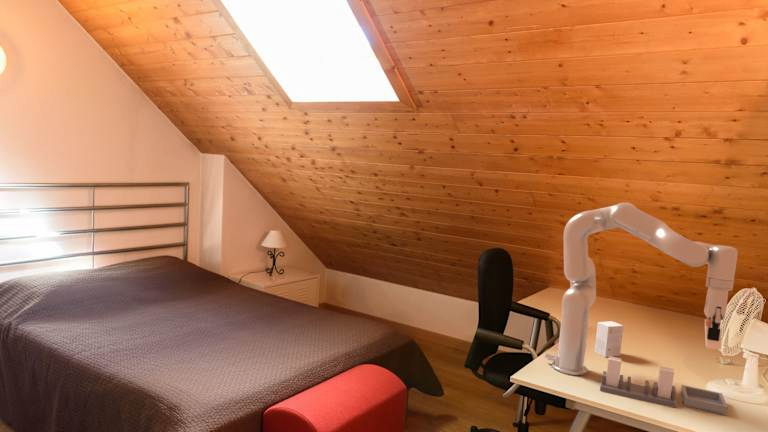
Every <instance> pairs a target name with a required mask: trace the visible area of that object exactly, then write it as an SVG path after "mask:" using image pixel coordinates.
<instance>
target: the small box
mask: <svg viewBox="0 0 768 432" xmlns="http://www.w3.org/2000/svg"><path fill="white" fill-rule="evenodd" d="M623 332H624V325H623V324H620V323H618V322H615V321H612V320H611V321H610V320H609V321H598V322H597V326H596V335H595V344H594V345H595V346H594V353H595V354H598V355H600V356H601V357H604V358H609V356H612V357H621V351H622V341H623Z"/></svg>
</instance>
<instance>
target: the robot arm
mask: <svg viewBox="0 0 768 432" xmlns="http://www.w3.org/2000/svg"><path fill="white" fill-rule="evenodd" d="M618 228H621V229H622V230H624V231H625V232H628V233H630V234H632V235H633V236H635V237H637V238H640V239H641V240H643V241H645V242H647V243H648V244H650V245H651V246H653V247H654V248H656V249H659V250H660V251H661V252H663V253H665V254H667V255H668V256H670V257H672V258H674V259H676V260H678V261H679V262H681V263H684V264H685V265H687V266H690V267H695V268H696V267H697V268H699V267H702V266H704V265H707V272H706V273H707V274H706V281H705V287H707V288H708V289H707V291H706V298H705V303H704V309H703V314H704V316H705V317H706V319H711V321H710V327H709V329H708V336H707V339H708V340H714V341H719V335H720V329H721V324H722V321H724V320H725V318H726V312H727V304H728V296H729V292H731V291H733V289H734V281H735V275H736V269H737V268H736V267H737V261H738V252H739V251H738V250H737V248H736V247H733V246H728V245H720V244H717V245H715V244H709V243H705V242H702V241H693V240H691V239H689V238H687V237H685V236H683V235H681V234H680V233H677V231H675V230H673V229H672V228H670V227H669V225H667V224H666V223H665V222H664V221H662V220H661V219H659V218H656V217H654V216H652V215H651V214H649V213H647V212H645V211H642V210H641V209H639V208H637V207H636V206H635V205H634V204H633V203H630V202H626V201H625V202H619V203H617V204H614V205H610V206H605V207H601V208H595V209H589V210H585V211H581V212H579V213H577V214H575V215H574V216H573V217H571V218H570V219H569V220H568V222H567V223H566V225H565V226H564V229H563V273H564V276H565V278H566V279H567V281H569V285H570V287H569V288H568V289H567V290H566V291H565V292H564V293H563V296H562V299H561V321H560V330H559V339H558V348H557V352H556V353H553V354H552V353H548V352H545V355H544V358H545V359H547V360H548V361H552V364H551V367H552V368H553V369H554V370H556V371H558V372H560V373H562V374H566V375H572V376H583V375H587V373H588V368H587V367H586V366H585V364H584V363H585V355H586V349H587V348H586V346H587V340H588V339H587V338H588V330H589V319H590V317H589V316H590V313H589V312H590V307H592V306H593V304H594V303H595V301H596V298H597V281H596V278H597V276H596V274H597V273H596V266H595V263H594V261H593V260H592V258H590V257H589V246H588V245H589V244H588V237H589V235H592V234H596V233H599V232H604V231H608V230H613V229H618ZM713 320H714V321H713Z"/></svg>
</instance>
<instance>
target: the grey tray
mask: <svg viewBox="0 0 768 432" xmlns="http://www.w3.org/2000/svg"><path fill="white" fill-rule="evenodd" d="M680 396H681V401H682V404H683V405H682V406H683V407H686V408H690V409H695V410H698V411H702V412H707V413H712V414H717V415H721V416H724V415H726V416H727V412H728V405H727V402H726V400H725V398H724V395H723V393H722V392H717V391H712V390H707V389H703V388H698V387H693V386H689V385H685V384H681V387H680Z"/></svg>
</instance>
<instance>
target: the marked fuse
mask: <svg viewBox="0 0 768 432" xmlns="http://www.w3.org/2000/svg"><path fill="white" fill-rule="evenodd" d="M710 321H711V319H708V318H704V336H705V339H704V340H705V348H706V349H707V350H722V332H721V330H722V329H721V328H720V335H719V341H714V340H708V339H707V336H708V329H709V327H710ZM713 321H714V320H713Z"/></svg>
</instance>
